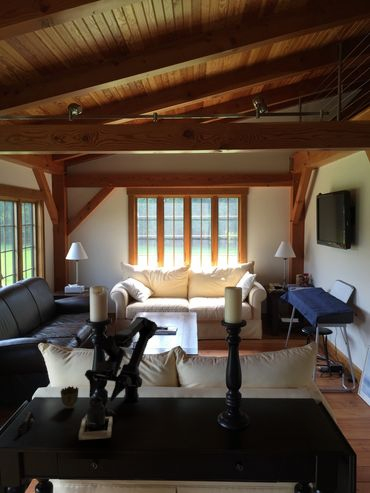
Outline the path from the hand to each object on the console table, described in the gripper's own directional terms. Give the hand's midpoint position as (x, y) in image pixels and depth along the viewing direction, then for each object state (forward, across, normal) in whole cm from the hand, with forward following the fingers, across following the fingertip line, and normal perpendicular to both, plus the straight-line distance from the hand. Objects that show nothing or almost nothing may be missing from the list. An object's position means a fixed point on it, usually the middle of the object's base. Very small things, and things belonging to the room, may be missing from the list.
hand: (100, 399), depth 152 cm
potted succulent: (+2, -21, +14) cm, 25 cm away
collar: (+10, 0, +5) cm, 11 cm away
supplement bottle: (+10, 0, +6) cm, 11 cm away
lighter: (+16, -25, 0) cm, 30 cm away
